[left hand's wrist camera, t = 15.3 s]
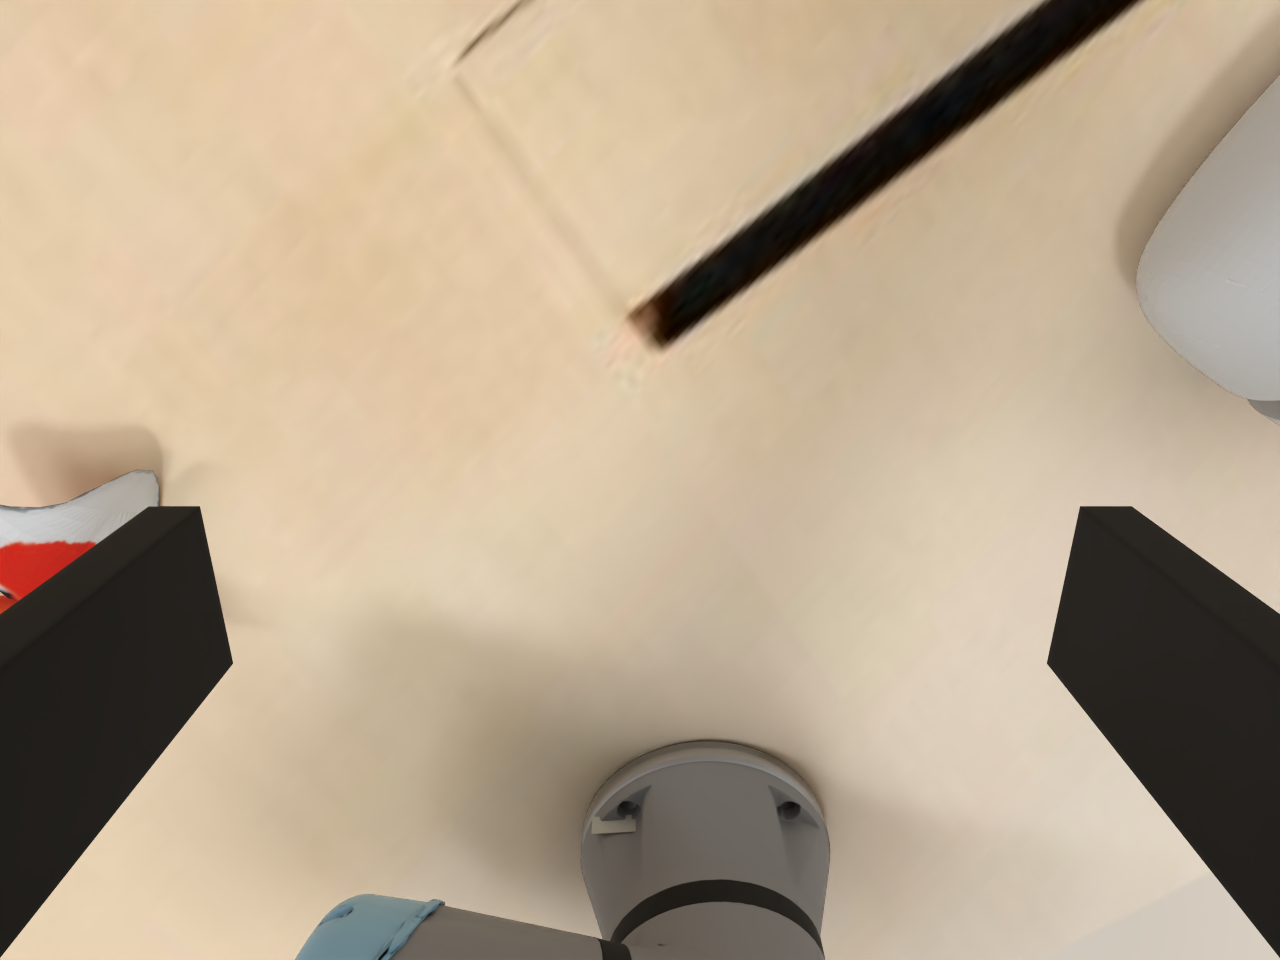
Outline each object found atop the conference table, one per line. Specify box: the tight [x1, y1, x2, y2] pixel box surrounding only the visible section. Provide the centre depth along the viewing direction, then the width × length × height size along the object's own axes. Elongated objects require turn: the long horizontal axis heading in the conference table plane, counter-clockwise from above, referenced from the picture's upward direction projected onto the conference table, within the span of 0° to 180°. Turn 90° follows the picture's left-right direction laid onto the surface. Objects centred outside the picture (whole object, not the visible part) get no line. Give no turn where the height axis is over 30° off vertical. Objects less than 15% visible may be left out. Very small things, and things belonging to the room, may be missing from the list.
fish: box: [0, 470, 160, 614], centre depth 42 cm, size 11×16×10 cm
